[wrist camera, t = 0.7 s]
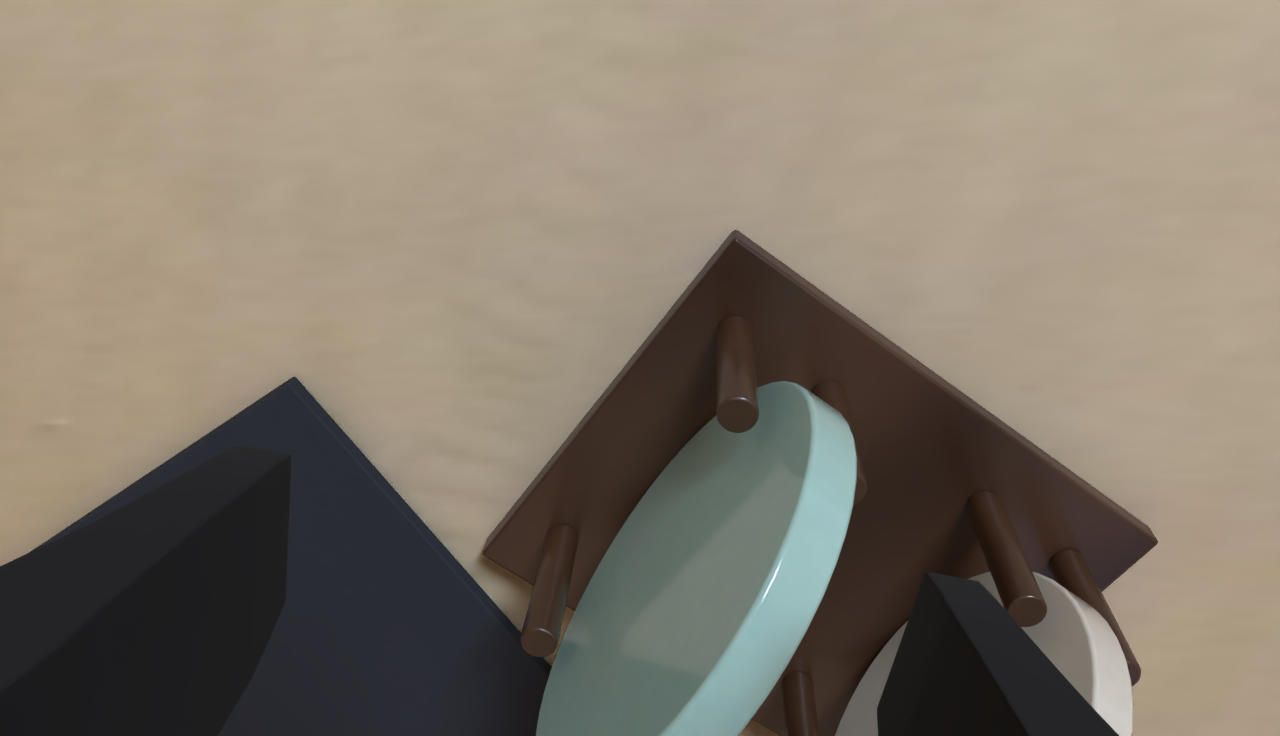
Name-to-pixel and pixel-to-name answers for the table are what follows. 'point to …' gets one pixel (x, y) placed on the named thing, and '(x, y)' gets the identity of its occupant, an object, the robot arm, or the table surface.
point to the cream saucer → (1063, 636)
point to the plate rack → (885, 489)
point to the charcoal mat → (363, 600)
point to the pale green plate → (710, 579)
